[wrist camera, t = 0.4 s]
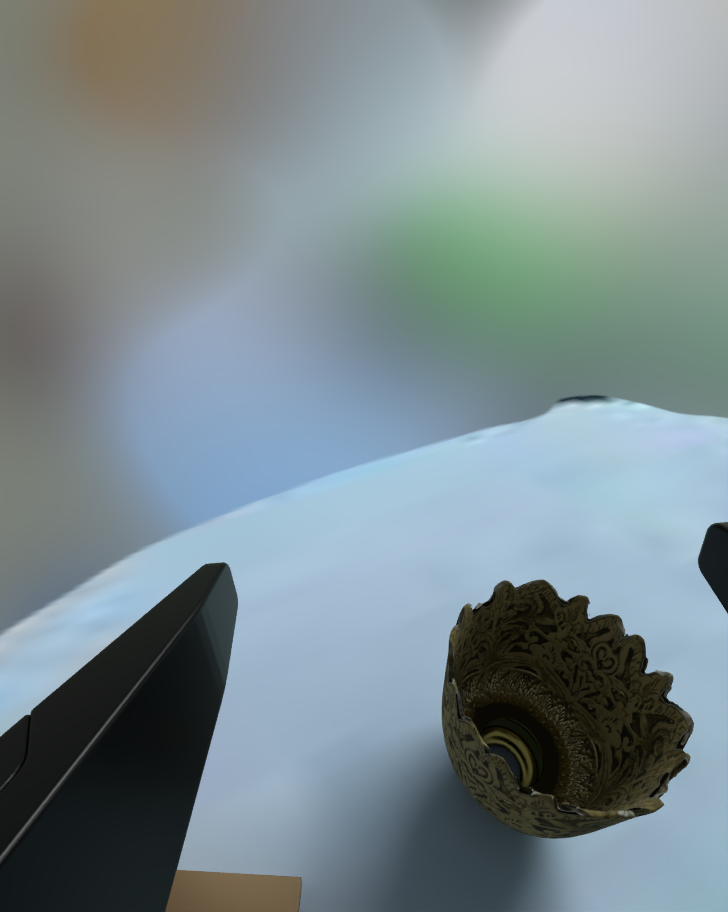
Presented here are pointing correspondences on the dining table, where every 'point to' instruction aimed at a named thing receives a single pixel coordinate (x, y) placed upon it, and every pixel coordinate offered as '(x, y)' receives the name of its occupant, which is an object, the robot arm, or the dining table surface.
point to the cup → (558, 714)
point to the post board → (233, 892)
